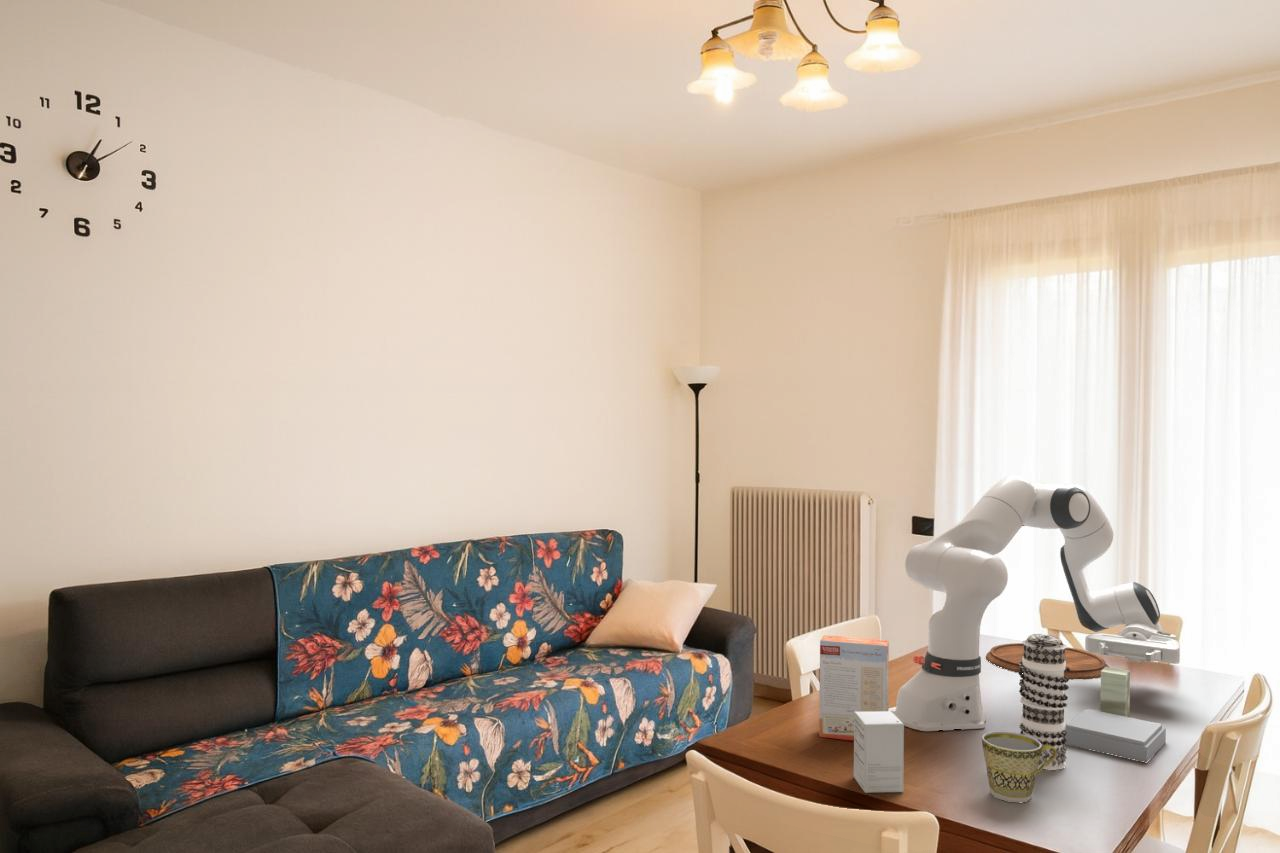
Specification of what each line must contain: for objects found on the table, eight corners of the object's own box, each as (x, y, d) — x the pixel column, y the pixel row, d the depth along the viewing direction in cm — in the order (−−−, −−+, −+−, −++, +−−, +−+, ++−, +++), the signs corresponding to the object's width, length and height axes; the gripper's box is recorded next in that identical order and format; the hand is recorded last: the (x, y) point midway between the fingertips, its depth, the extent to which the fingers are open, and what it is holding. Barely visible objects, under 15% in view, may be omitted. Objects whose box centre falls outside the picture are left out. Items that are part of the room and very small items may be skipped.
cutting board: (961, 656, 260) (961, 648, 260) (1040, 646, 274) (1040, 638, 274) (1054, 686, 231) (1054, 676, 231) (1136, 673, 245) (1136, 664, 245)
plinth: (1146, 763, 177) (1147, 743, 177) (1061, 743, 188) (1061, 724, 188) (1165, 743, 189) (1165, 724, 189) (1084, 725, 200) (1084, 707, 200)
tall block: (1125, 729, 197) (1125, 675, 197) (1100, 724, 200) (1100, 671, 200) (1129, 723, 201) (1129, 670, 201) (1104, 719, 204) (1105, 666, 204)
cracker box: (888, 736, 191) (889, 639, 191) (886, 746, 185) (887, 645, 185) (822, 728, 195) (823, 633, 195) (818, 737, 190) (819, 639, 190)
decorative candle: (1024, 750, 184) (1026, 629, 184) (1073, 761, 178) (1075, 636, 178) (1011, 763, 176) (1012, 636, 176) (1061, 775, 171) (1062, 644, 171)
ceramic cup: (992, 807, 156) (993, 749, 156) (973, 784, 166) (973, 730, 166) (1068, 809, 155) (1068, 751, 155) (1043, 786, 165) (1044, 732, 165)
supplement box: (891, 777, 169) (892, 710, 169) (904, 793, 161) (905, 723, 161) (852, 777, 168) (853, 710, 168) (863, 793, 161) (864, 723, 161)
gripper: (1090, 624, 228) (1078, 634, 217) (1184, 636, 215) (1175, 647, 204) (1090, 649, 228) (1078, 660, 217) (1184, 662, 215) (1175, 675, 204)
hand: (1126, 654), depth 211 cm, fingers open, 8 cm apart
